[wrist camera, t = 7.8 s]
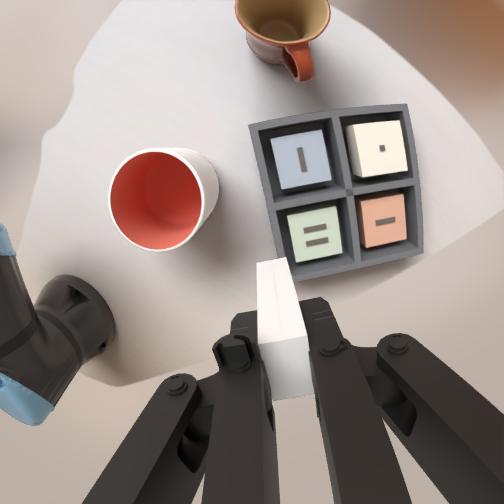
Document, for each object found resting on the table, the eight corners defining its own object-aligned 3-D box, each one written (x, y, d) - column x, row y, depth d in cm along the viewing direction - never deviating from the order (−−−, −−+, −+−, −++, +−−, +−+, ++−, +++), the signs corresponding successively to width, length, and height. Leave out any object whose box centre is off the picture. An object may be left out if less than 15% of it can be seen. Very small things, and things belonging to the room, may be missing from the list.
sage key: (293, 252, 37) (296, 262, 33) (284, 209, 35) (287, 216, 32) (335, 243, 36) (342, 253, 33) (329, 200, 34) (336, 206, 31)
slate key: (279, 185, 34) (281, 189, 31) (269, 140, 32) (270, 138, 29) (325, 177, 33) (331, 180, 30) (315, 131, 32) (321, 129, 28)
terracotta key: (357, 239, 36) (366, 248, 32) (352, 196, 34) (361, 201, 31) (395, 231, 35) (407, 239, 32) (391, 189, 33) (403, 194, 30)
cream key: (353, 174, 31) (363, 177, 28) (344, 126, 29) (353, 124, 26) (395, 168, 31) (408, 170, 27) (387, 122, 29) (400, 120, 25)
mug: (233, 23, 27) (223, -15, 18) (299, 9, 26) (311, -31, 17) (262, 104, 31) (262, 85, 22) (331, 88, 30) (356, 67, 20)
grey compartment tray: (281, 266, 38) (283, 284, 33) (250, 128, 32) (248, 124, 27) (406, 240, 36) (423, 253, 31) (388, 108, 30) (407, 103, 26)
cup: (237, 180, 35) (227, 192, 25) (189, 241, 37) (166, 271, 28) (174, 132, 33) (143, 127, 23) (131, 194, 36) (92, 211, 26)
